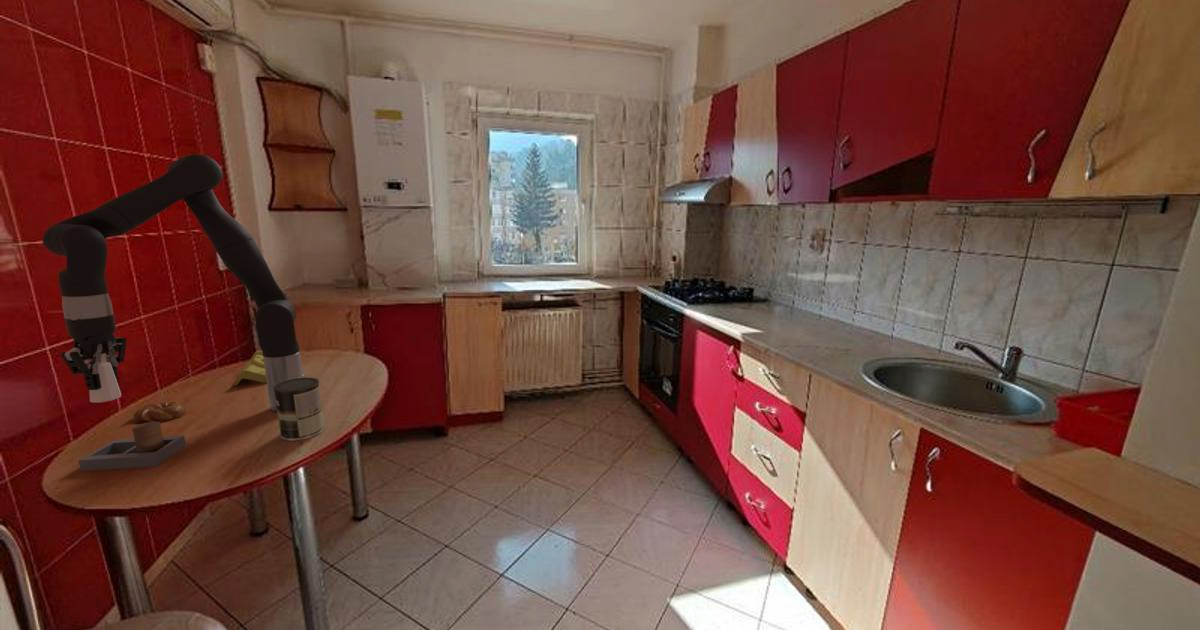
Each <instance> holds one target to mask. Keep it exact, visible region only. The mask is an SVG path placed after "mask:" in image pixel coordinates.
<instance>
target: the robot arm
mask: <svg viewBox="0 0 1200 630" xmlns="http://www.w3.org/2000/svg"><path fill="white" fill-rule="evenodd" d="M222 180H223V170H222V167H221V166H220V165H219V163H218V162H217V161H216V160H215V159H213V158H212V157H210V156H208V155H204V154H200V153H192V154H191V153H190V154H188V155H185V156H182V157H180V158H178V159H177V160H175V161H173V162H172V163H171V164H169V165H168V168H167V170H166V173H165V174H163V175H161V176H159V177H157V178H155V179H154V180H151V181H150V182H146V183H145V184H143V185H140V186H139V187H136V188H134V189H132V190H129V191H127V192H125V193H123V194H121V195H118V196H116V197H115V198H112V199H111V200H108V201H107V202H105V203H103V204H101V205H99V206H97V207H95V208H94V209H91V210H90V211H87V212H84V213H83V212H82V213H79V214H77V215H75V216H72V217H70V218H69V217H68V218H67V219H64V220H62V221H59V222H57V223H55V224H53V225H52V226H50V227H48V228H47V229H46V230H45V231H44V233H43V235H42V238H41V239H42V244H43V246H44V247H45V248H46V249H47V250H48V251H49V252H51V253H53V254H54V255H55V254H56V255H58V256H62V257H66V258H65V259H66V260H65V261H66V265H65V266H66V268H65V269H61V270H60V271H59V273H58V284H59V289H60V292H61V293H60V294H61V300H62V301H61V307H62V312H63V317H64V321H65V326H66V332H67V335H68V337H70V338H72V339H73V345H72V348H71V349H69V350H68V351H62V352H61V354H60V356H61V358H62V360H63V361H64V363H65V364H66V365H67V367H68V369H69V371H71V373H72V374H73V375H83V378H84V382H85V387H86V388H87V389H88V390H98V389H100V388H101V383H100V377H99V373H97V372H98V364H99V363H100V362H101V354H104V353H106V358H107V359H106V360H107V362H110V363H111V366H112V369H113V371H114V374H115V377H116V380H117V383H119V382H118V381H119V373H118V369H117V368H118V366H119V364H120V363H123V362H124V361H125V356H126V348H127V340H128V339H127V338H126V337H125V336H123V337H115V335H114V333H116V332H117V326H116V321H115V315H114V310H113V309H114V308H113V303H112V300H111V297H110V296H109V291H108V285H107V284H108V283H107V279H106V276H105V273H106V269H107V262H108V261H107V260H108V244H107V241H106V239H108V238H111V237H118V236H122V235H125V234H127V233H130V232H131V231H132V230H134V229H136V228H137V227H140V226H141V225H143V224H144V223H146V222H147V221H149V220H150V219H152V218H154V217H156V216H157V215H159V214H161V213H162V212H163V211H165V210H166V209H168V208H169V207H171V206H172V205H174V204H176V203H177V202H179V201H182V200H183V201H184V203H185V204H186V205H187V207H188V208H189V210H190V211H191V212H192V214H193V215H194V216H195V218H196V220H197V221H198V222H199V223H198V224H199V225H200V226H201V228H202V229H203V231H204V233H205V234H206V236H207V237H208V239H209V240H210V242H211V244H212V247H213V248H214V250H215V252H216V253H217V255H218V256H219V258H220V259H221V262H222V263H223V264H224V265H225V267H226V268H227V270H229V272H230V273H231V274H232V275H233V276H234V277H235V278H236V279H237V280H238V281H240V283H241V284H242V285H243V286H244V287H245V288H246V289H247V290H248V292H249V294H250V295H251V297H252V299H253V301H254V302H255V305H256V308H257V310H256V312H255V314H254V315H255V317H254V321H255V323H254V324H255V328H256V334H257V339H258V340H257V341H258V345H259V347H260V351H262V353H263V360H264V366H265V373H266V379H267V383H266V384H267V393H268V397H269V404H270V410H271V411H272V412H274V413H277V406H276V399H275V392H274V390H273V387H274V386H275V385H277V384H278V383H281V382H283V381H287V380H290V379H296V378H307V374H306V373H305V372H304V373H303V366H302V360H301V359H302V358H301V353H300V343H299V342H298V340H297V335H296V329H295V328H296V327H295V320H296V318H297V310H296V307H294V305H293V304H292V302H291V301H290V299H289V298H288V297H287V296H286V294H285V293H284V291H283V290H282V289H281V287H280V286H279V284H278V283H277V281H276V280H275V278H274V276H273V274H272V271H271V269H270V267H269V266H268V263H267V261H266V260H265V258H264V256H263V254H262V252H261V250H260V248H259V246H258V245H257V243H256V242H255V239H254V238H253V236H252V235H251V233H250V232H249V231H248V230H247V229H246V228H245V227H244V226H243V225H242V224H241V223H240V222H239V221H238V220H236V219H235V218H234V217H233V216H232V215H230V214H229V213H228V212H227V211H226V210H225V208H224V207H223V206H222V205H221V203H220V202H219V199H218V198H217V196H216V195H215V193H214V190H213V189H215V188H216V187H218V186H219V184H220V183H221V182H222ZM117 353H118V355H117ZM90 359H93V360H90ZM89 365H91V369H89V368H88V366H89Z"/></svg>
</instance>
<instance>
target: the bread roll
mask: <svg viewBox="0 0 1200 630" xmlns="http://www.w3.org/2000/svg"><path fill="white" fill-rule="evenodd" d="M186 412H187V411H186V407H185V405H183V404H181V403H179V402H175V401H171V402H169V403H168V402H164V401H163V402H158V403H152V404H147V405H144V406H142V407H141V408H138V409H137V410H135V412H134V414H133V415H132V416H133V417H132V418H133V421H134V422H135V424H137V425H140V424H143V423H148V422H160V423H165V422H168V421H170V420H172V419H173V420H176V419H178V418H182V417H183V416H185V414H186Z"/></svg>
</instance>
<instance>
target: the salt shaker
mask: <svg viewBox="0 0 1200 630" xmlns="http://www.w3.org/2000/svg"><path fill="white" fill-rule="evenodd" d="M106 359H107V358H106V353H104V354H101V362H100V363H99V364H98V372H97V373H99V377H100V383H101V388H100V389H98V390H89V389H88V390H89V402H90V403H97V404H98V403H100V404H101V403H106V402H111V401H114V400H117V399H120V398H121V397H122V393H121V389H120V387H119V382H117V380H116V377H115V374H114V371H113V369H112V366H111V363H110V362H107V360H108V359H107V360H106ZM89 360H93V359H89ZM88 368H89V369H91V365H90V364H88Z"/></svg>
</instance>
